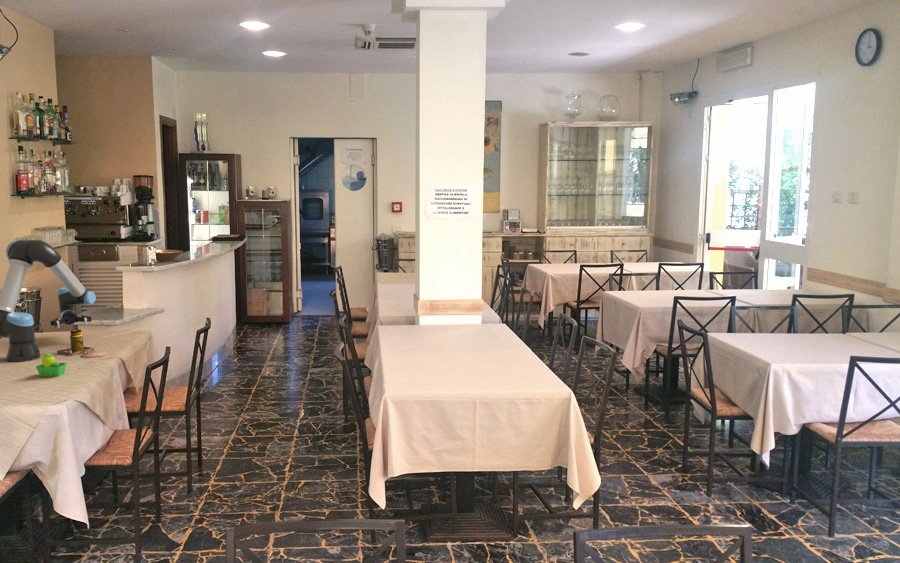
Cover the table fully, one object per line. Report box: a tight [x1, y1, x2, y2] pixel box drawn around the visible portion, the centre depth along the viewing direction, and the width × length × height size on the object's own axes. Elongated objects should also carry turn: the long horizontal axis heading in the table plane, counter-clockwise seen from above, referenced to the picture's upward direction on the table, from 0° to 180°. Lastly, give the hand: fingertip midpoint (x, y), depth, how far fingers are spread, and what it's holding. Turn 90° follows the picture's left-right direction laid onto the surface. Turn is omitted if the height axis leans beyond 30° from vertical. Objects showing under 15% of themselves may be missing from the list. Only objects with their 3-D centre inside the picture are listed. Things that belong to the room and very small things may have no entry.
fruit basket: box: [35, 353, 68, 378], centre depth 352 cm, size 11×9×11 cm
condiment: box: [69, 328, 85, 353], centre depth 398 cm, size 7×8×12 cm
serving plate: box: [81, 350, 108, 358], centre depth 392 cm, size 12×12×1 cm
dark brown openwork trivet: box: [56, 346, 95, 357], centre depth 399 cm, size 13×12×2 cm
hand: (72, 323), depth 406 cm, fingers open, 13 cm apart
